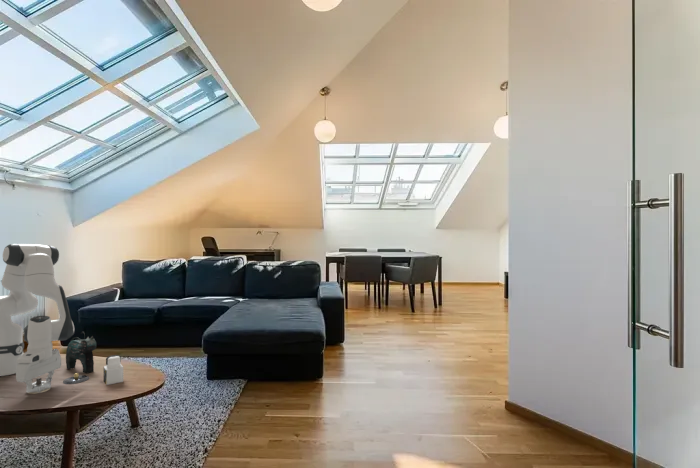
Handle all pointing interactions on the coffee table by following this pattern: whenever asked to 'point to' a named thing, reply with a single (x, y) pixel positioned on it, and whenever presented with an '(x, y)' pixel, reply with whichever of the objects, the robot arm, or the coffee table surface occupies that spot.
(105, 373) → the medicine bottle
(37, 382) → the stand
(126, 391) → the coffee table surface
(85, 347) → the bull figurine
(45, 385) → the square tunnel block
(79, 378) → the hub
